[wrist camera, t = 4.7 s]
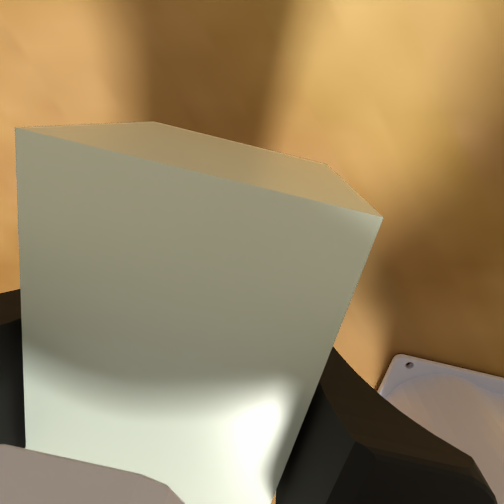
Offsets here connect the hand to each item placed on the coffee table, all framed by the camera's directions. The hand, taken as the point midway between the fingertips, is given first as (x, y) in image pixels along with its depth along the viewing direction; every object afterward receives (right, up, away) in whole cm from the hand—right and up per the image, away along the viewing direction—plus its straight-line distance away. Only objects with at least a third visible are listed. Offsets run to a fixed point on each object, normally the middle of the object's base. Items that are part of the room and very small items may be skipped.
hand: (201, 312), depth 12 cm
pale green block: (0, +1, +2) cm, 2 cm away
